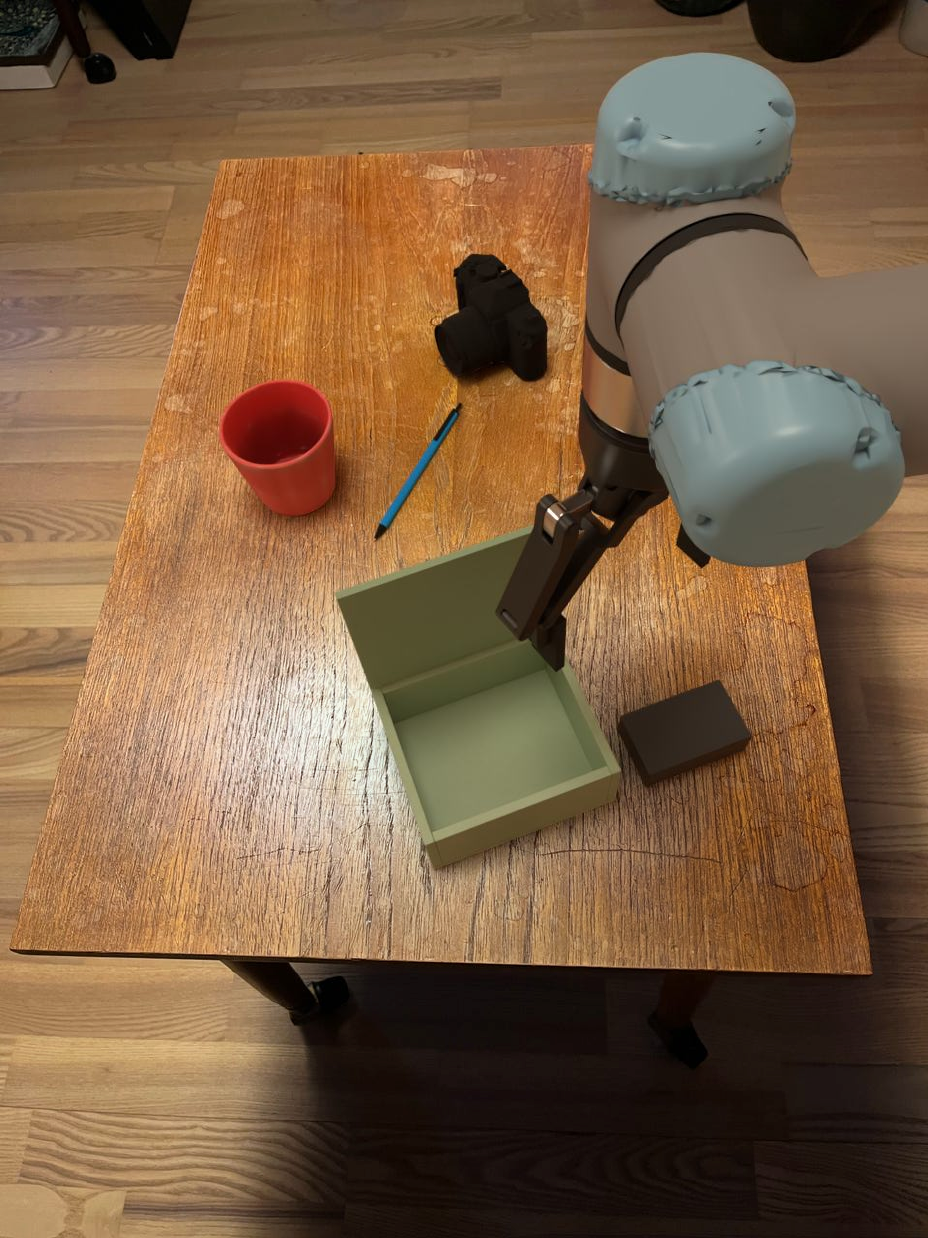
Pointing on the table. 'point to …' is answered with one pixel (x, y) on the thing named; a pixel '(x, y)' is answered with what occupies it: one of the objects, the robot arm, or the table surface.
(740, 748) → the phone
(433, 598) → the cover
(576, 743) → the case
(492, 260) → the film camera
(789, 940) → the table surface
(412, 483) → the pen
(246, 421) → the flower pot
